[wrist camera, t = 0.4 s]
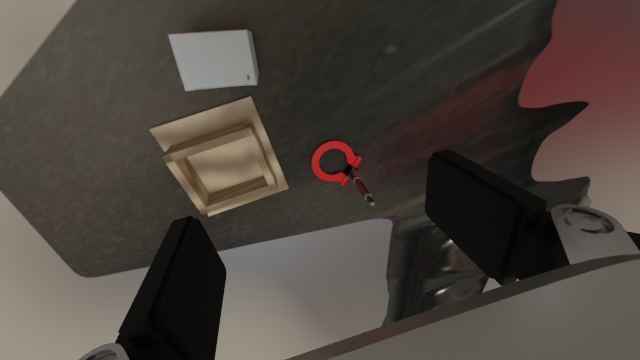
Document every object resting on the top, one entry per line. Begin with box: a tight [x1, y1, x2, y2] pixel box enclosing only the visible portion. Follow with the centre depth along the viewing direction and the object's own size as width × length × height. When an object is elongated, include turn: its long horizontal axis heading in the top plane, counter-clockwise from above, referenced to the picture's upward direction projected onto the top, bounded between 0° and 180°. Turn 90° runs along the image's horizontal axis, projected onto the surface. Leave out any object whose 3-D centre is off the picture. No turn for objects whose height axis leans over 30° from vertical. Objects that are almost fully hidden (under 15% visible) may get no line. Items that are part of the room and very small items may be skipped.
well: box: [149, 96, 289, 216], centre depth 40 cm, size 18×16×5 cm
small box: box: [168, 29, 259, 91], centre depth 30 cm, size 8×6×10 cm
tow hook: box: [311, 140, 375, 206], centre depth 41 cm, size 8×13×9 cm
